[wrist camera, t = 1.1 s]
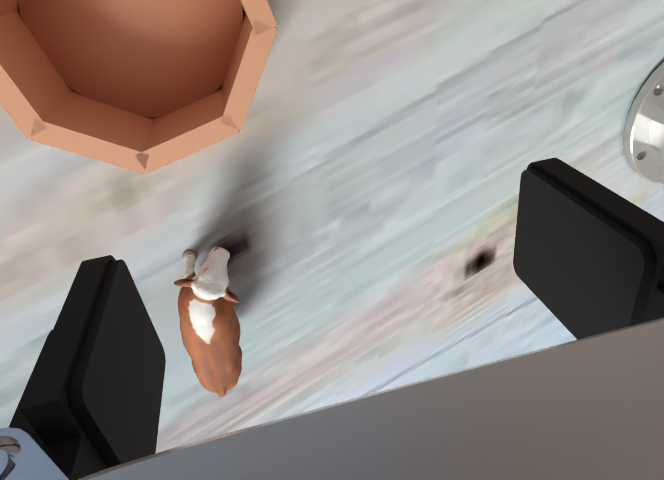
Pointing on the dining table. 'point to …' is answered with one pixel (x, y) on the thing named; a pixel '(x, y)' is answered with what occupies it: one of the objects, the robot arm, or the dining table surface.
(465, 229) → the dining table surface
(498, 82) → the dining table surface
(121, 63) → the bowl
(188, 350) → the bull figurine
